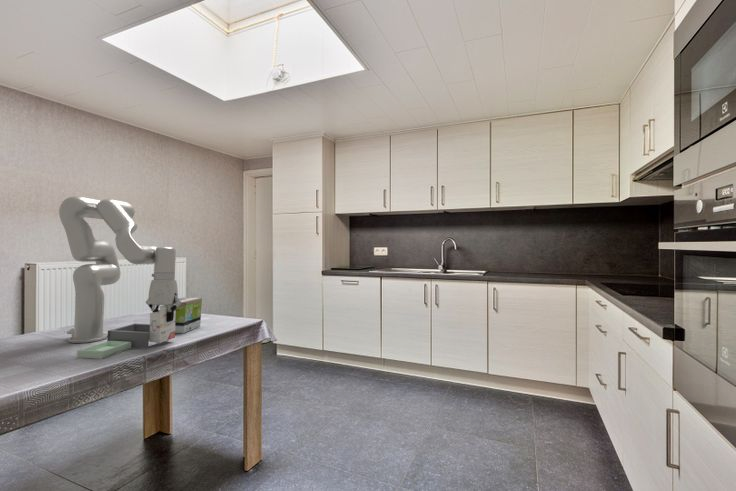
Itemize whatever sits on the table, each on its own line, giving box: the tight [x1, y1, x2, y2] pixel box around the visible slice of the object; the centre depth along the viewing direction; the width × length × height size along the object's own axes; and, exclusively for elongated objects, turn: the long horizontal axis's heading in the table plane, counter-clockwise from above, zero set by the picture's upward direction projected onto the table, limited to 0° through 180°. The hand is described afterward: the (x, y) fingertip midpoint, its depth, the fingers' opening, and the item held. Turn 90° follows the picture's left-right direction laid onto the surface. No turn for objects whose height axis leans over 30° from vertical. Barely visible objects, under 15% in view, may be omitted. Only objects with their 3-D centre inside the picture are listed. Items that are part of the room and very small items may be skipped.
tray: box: [76, 340, 132, 360], centre depth 127 cm, size 10×13×2 cm
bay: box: [106, 323, 150, 349], centre depth 141 cm, size 16×14×6 cm
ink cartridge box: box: [149, 304, 176, 343], centre depth 140 cm, size 9×5×15 cm, turn 168°
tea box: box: [165, 296, 203, 334], centre depth 165 cm, size 15×10×15 cm, turn 179°
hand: (162, 320), depth 140 cm, fingers closed on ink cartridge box, 5 cm apart
